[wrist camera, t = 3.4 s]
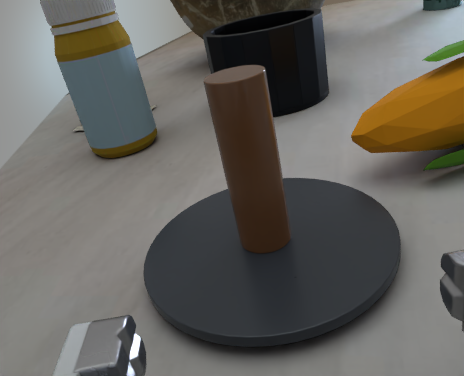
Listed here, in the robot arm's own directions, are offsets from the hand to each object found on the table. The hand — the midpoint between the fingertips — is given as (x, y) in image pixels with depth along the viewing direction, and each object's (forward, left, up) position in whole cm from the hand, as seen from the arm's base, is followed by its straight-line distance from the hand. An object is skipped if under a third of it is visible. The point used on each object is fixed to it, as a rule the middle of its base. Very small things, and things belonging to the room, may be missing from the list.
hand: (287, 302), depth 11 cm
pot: (+25, +31, -6) cm, 40 cm away
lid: (+6, +9, -6) cm, 12 cm away
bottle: (+8, +35, -7) cm, 36 cm away
